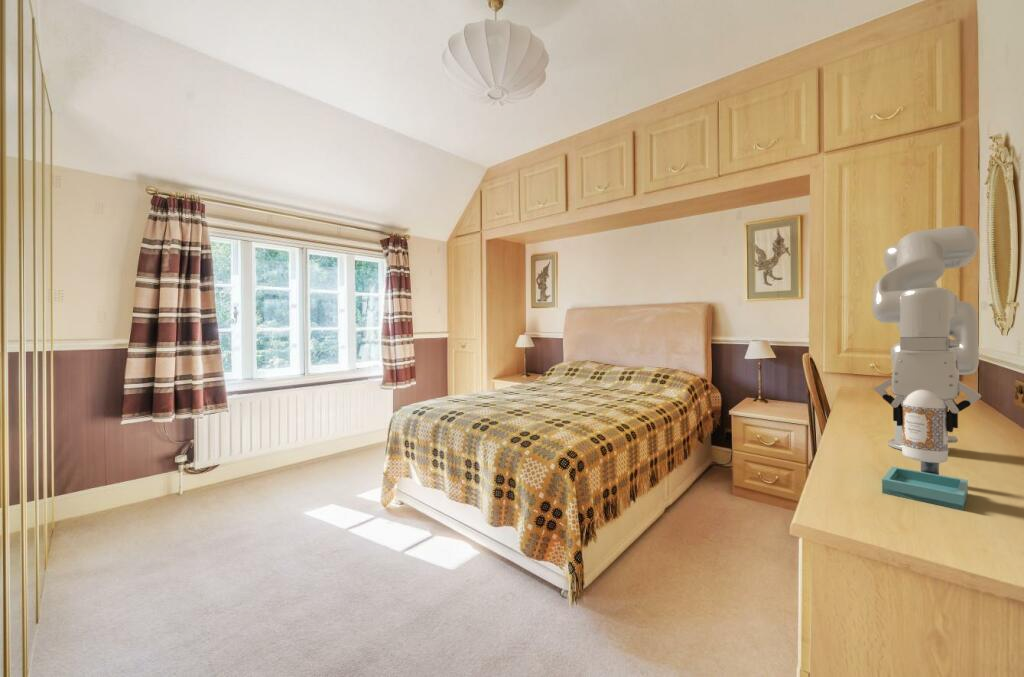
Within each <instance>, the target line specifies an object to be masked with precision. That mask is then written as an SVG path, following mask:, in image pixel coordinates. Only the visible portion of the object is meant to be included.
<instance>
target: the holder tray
mask: <svg viewBox="0 0 1024 677" xmlns="http://www.w3.org/2000/svg"><path fill="white" fill-rule="evenodd" d="M968 486H969V483H968V479H964V478H959V477H953V476H946V475H942V474H939V475H937V474H931V473H926V472H921V470H915V469H909V468H903V467H899V466H897V467H896V466H891V467H890V468H889V470H888V471H887V472H886V474H885V475H884V476H883V477H882V478H881V491H882V494H886V495H891V496H896V497H900V498H903V499H904V498H905V499H909V500H913V501H918V502H921V503H926V504H927V503H928V504H931V505H935V506H936V505H937V506H941V507H946V508H950V509H955V510H959V511H963V512H964V511H965V506H966V503H967V499H968V495H969V494H968V492H969V489H968V488H969V487H968Z"/></svg>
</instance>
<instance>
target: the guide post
mask: <svg viewBox="0 0 1024 677" xmlns="http://www.w3.org/2000/svg"><path fill="white" fill-rule="evenodd" d="M920 472H926V473H931V474H937V475H940V463H931V462H923V461H920Z"/></svg>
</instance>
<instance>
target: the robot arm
mask: <svg viewBox="0 0 1024 677" xmlns="http://www.w3.org/2000/svg"><path fill="white" fill-rule="evenodd" d="M978 238H979V237H978V234H977V233H976V231H975V230H974V229H973V228H971V227H970V226H967V225H955V226H948V227H940V228H939V227H937V228H933V229H932V228H931V229H924V230H917V231H913V232H910V233H908V234H906V235H904V236H902V237H901V238H900V239H899V241H898V242H897V244H894V245H891V246H889V247H887V248H886V249H885V251H884V255H883V261H884V266H885V269H886V271H887V272H886V273H885V274H884V275H882V276H881V277H880V278H878V280H877V281H876V282H875V283H874V287H873V291H872V301H871V311H872V315H873V317H874V318H875V319H876V321H878V322H879V323H886V324H887V323H888V324H892V323H893V324H894V323H896V324H897V329H898V331H899V342H896V343H894V344H893V345H892V346H891V348H890V354H889V355H890V361H891V365H892V366H891V367H892V373H891V378H890V379H888V380H886V381H884V382H883V383H881V384H879V385H877V386H875V387H874V391H875V392H876V393H877V394H878V395H879V396H880V397H881V398H882V399H883V400H884V401H886V402H887V404H889V405H890V406H891V407H892V419H893V422H894V438H891V439H889V440H887V445H888V446H889V447H892V448H894V449H897V450H900V451H902V401H903V399H904V397H906V396H908V395H909V394H910V393H912V392H914V391H916V390H927V391H930V392H932V393H933V394H935V395H936V396H937V397H938V398H939V399H942V400H943V401H944V402H945V404H946V405H947V407H948V413H947V431H948V433H953V432H954V429H958V428H959V412H962V411H963V410H966V408H969V407H970V406H971V405H973V404H974V403H976V402H977V401H978V400H979V399H981V398H982V395H981V394H980V393H979V392H977V391H975V390H974V389H972V388H971V387H969V386H968V385H966V384H964V382H961V381H960V375H961V376H962V375H963V376H965V375H971V374H974V373H975V372H977V370H978V367H979V363H980V349H979V348H980V347H979V346H980V345H979V318H978V313H977V309H976V308H975V306H974V304H972V303H970V302H967V301H961V300H960V299H959V296H958V295H957V294H955V292H953V291H952V290H950V289H948V288H944V287H938V285H937V283H936V282H937V281H938V280H939V279H941V277H942V276H943V275H944V274H945V270H947V269H956V268H958V269H959V268H963V267H966V266H967V265H969V264H970V263H971V261H972V260H973V259H974V258H975V256H976V254H977V251H978V249H979V239H978ZM951 337H952V338H953V339H952V338H951ZM890 387H891V393H892V394H893V395H894V397H893V396H892V395H891V394H889V393H888V392H887V391H886V389H887V388H890ZM961 392H962V393H963V394H966V396H967V397H966V398H965V399H963V400H962V401H959V403H957V402H956V401H955V399H957V398H958V397H959V395H960V393H961ZM958 440H959V439H958V437H957V436H955V435H948V444H952V443H953V444H954V443H955V444H956V443H957V442H959V441H958ZM949 449H950V448H949V447H948V453H950V450H949Z"/></svg>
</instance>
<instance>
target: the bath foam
mask: <svg viewBox="0 0 1024 677" xmlns="http://www.w3.org/2000/svg"><path fill="white" fill-rule="evenodd" d="M948 412H949V408H948V407H947V405H946V404H945V402H944V401H943V400H942V399H939V398H938V397H937V396H936V395H935V394H933V393H932V392H930V391H927V390H916V391H914V392H912V393H910V394H909V395H908V396H906V397H904V399H903V401H902V450H901V451H902V453H901V454H902V455H903V456H904V457H906V458H908V459H911V460H914V461H919V462H921V461H923V462H931V463H939V464H941V463H946V462H947V461H948V459H949V452H948V448H949V443H948V436H949V432H948V431H947V413H948Z"/></svg>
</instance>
